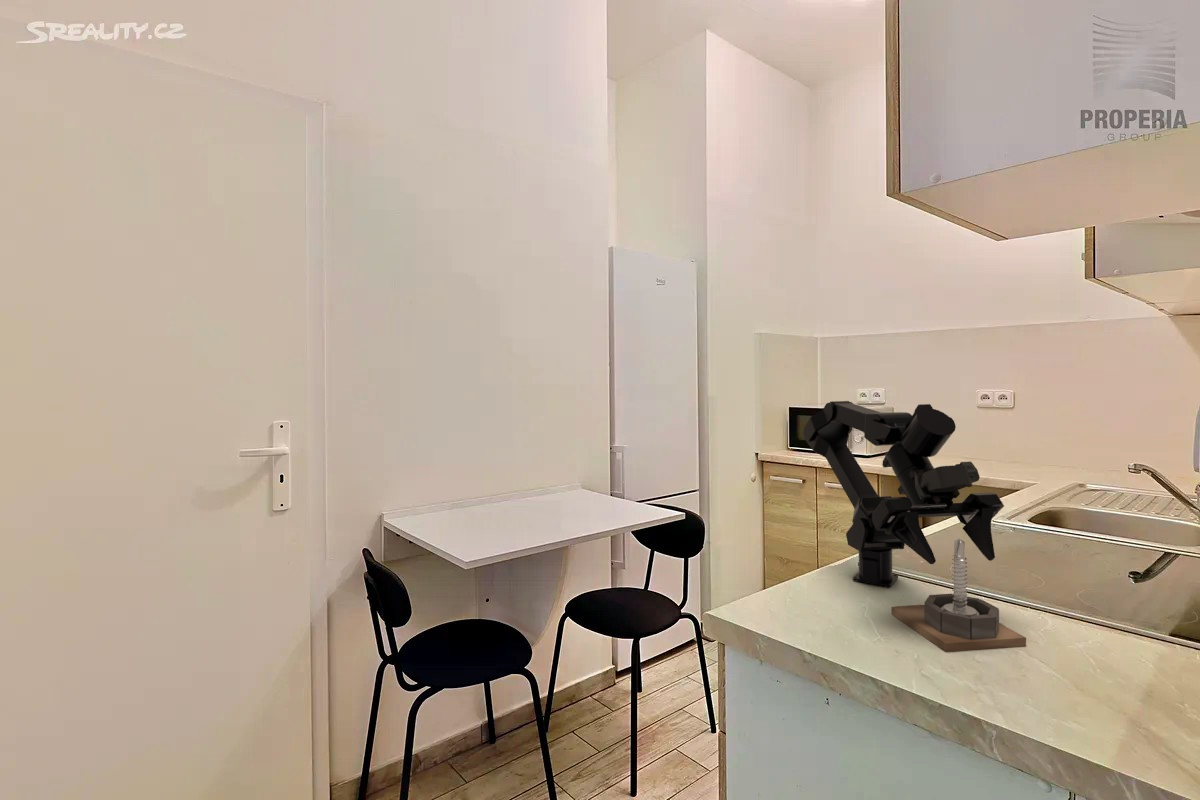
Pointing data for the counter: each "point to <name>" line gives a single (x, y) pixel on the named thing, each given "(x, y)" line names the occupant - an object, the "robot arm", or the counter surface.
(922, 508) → the robot arm
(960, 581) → the screw
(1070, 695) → the counter surface
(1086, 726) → the counter surface
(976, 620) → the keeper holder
